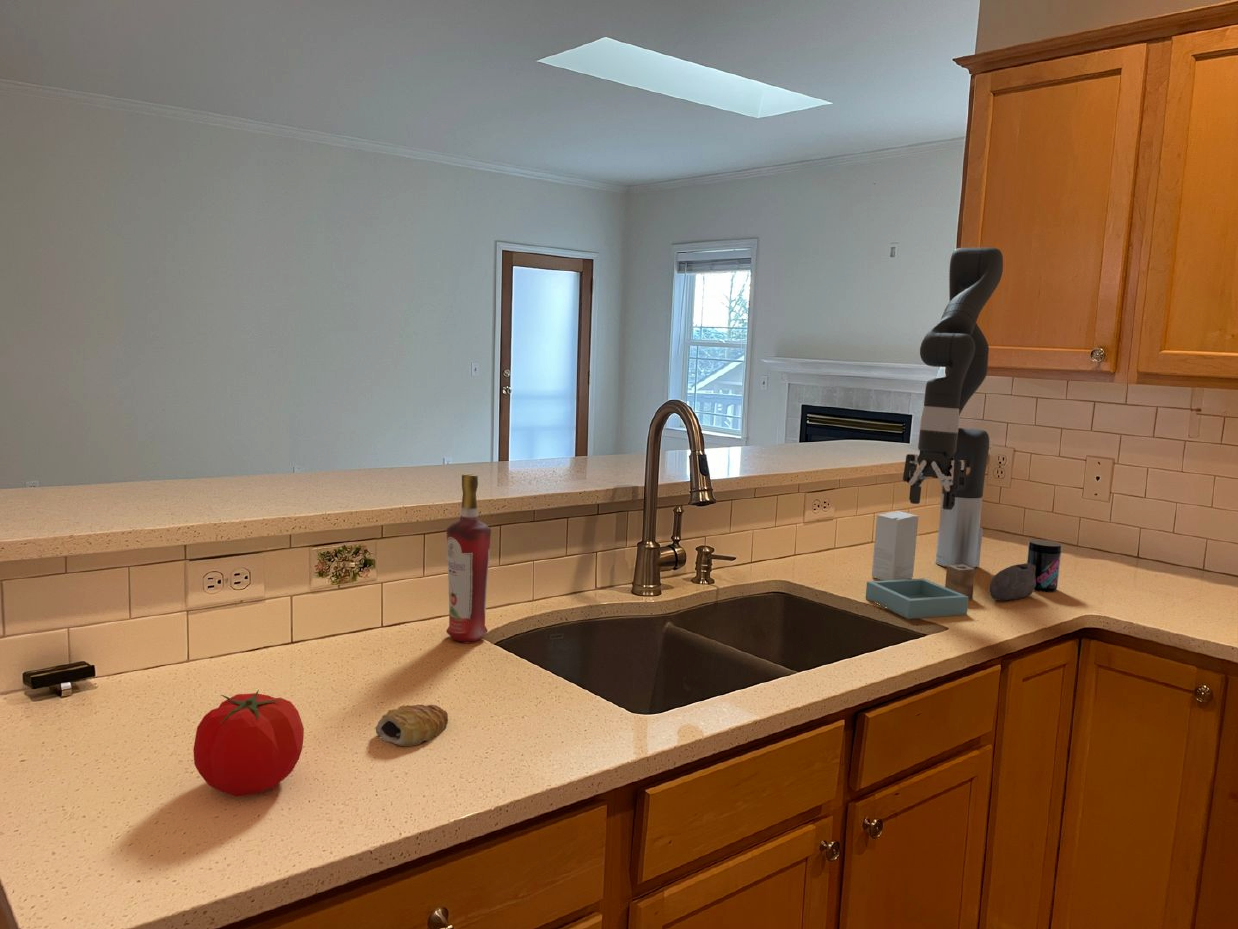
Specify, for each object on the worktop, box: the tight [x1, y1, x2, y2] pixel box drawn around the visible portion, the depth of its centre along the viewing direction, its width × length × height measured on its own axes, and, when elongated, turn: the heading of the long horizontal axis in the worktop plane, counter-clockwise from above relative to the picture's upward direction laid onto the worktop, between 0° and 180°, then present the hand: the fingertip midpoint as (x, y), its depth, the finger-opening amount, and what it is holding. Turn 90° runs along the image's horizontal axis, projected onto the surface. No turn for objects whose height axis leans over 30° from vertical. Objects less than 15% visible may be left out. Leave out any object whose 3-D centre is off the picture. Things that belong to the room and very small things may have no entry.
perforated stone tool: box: [988, 562, 1036, 602], centre depth 193 cm, size 15×5×7 cm, turn 124°
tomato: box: [193, 689, 305, 798], centre depth 102 cm, size 12×12×10 cm
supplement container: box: [1026, 538, 1063, 593], centre depth 202 cm, size 7×7×10 cm
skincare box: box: [871, 510, 920, 581], centre depth 205 cm, size 8×6×15 cm
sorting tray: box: [865, 577, 970, 620], centre depth 184 cm, size 14×14×4 cm
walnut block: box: [944, 565, 976, 600], centre depth 192 cm, size 4×4×7 cm
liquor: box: [446, 473, 492, 643], centre depth 152 cm, size 7×7×28 cm
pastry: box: [375, 704, 449, 747], centre depth 117 cm, size 9×7×4 cm
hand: (930, 506), depth 191 cm, fingers open, 8 cm apart
